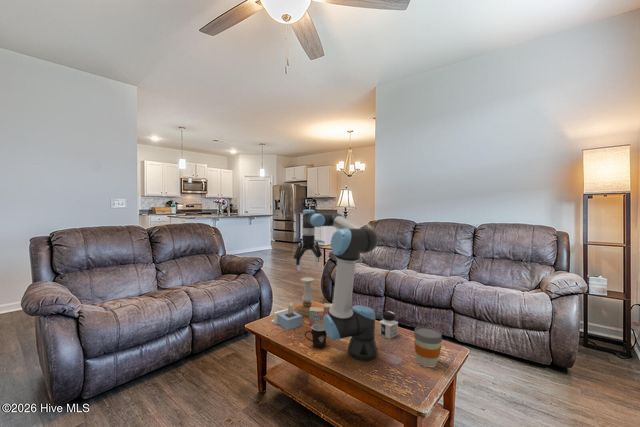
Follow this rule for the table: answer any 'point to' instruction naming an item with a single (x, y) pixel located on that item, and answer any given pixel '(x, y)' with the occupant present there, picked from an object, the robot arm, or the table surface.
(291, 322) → the block
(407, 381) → the table surface
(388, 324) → the container
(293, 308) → the wall
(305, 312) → the candle holder
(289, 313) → the dowel
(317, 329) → the coffee mug
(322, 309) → the stack of blocks
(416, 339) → the reusable coffee cup
